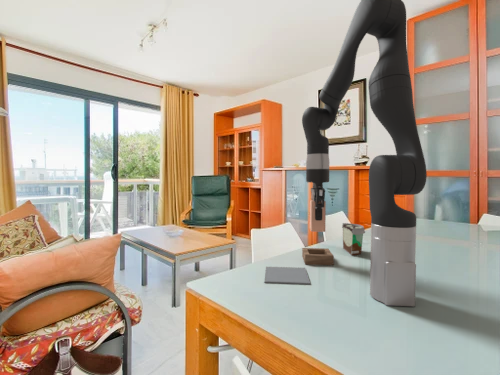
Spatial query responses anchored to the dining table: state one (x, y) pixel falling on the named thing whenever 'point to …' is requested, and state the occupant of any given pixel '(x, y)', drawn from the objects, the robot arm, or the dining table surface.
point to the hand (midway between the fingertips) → (317, 218)
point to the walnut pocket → (317, 256)
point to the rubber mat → (286, 275)
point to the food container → (352, 238)
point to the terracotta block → (317, 224)
